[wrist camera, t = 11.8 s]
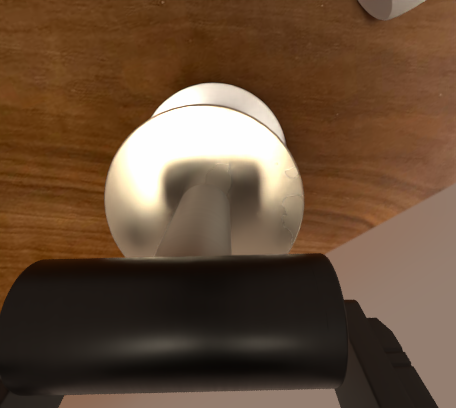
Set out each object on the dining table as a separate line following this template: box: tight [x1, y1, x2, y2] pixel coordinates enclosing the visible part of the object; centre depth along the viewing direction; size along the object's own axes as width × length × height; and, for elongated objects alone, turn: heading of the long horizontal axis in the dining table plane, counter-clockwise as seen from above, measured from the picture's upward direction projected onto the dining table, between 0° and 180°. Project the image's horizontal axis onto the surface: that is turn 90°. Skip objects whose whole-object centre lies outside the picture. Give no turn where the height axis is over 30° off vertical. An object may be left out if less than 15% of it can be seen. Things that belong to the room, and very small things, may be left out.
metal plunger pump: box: [0, 82, 349, 396], centre depth 15 cm, size 11×11×21 cm
